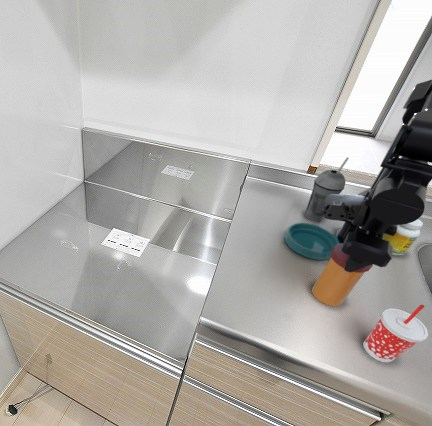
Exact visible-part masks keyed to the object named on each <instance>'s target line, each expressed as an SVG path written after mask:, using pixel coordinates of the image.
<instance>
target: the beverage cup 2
mask: <svg viewBox="0 0 432 426" xmlns="http://www.w3.org/2000/svg"><path fill="white" fill-rule="evenodd" d="M424 308H425V305H424V304H420V305H419V306H418V307H417V308H416V309H415V310H414V311H413V312H412V313H409V312H407V311H404V310H402V309H399V308H386V309H385V310H383V312H382V313H381V315H380V318H379V320H378V322H377V323H376V324H375V326H374V327H373V329H372V330H371V331H370V333H369V334H368V335H367V337H366V338H365V339H364V341H363V343H362V344H363V345H362V346H363V349H364V350H365V353H367V354H368V355H369V356H370V357H371V358H373V359H375V361H379V362H382V363H391V362H393V361H394V360H395V359H397V358H398V357H400V356H401V355H402V354H404V353H405V352H406V351H408V350H409V349H411V348H412V347H414V346H415V345H416V344H419V343H421V342H424V341H426V340H427V338H428V336H429V331H428V329H427V327H426V326H425V325H424V323H423V322H422V321H421V320H420V319H418V318H417V317H416V316H417V315H419V313H420V312H421V311H422V310H423V309H424Z"/></svg>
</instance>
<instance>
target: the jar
mask: <svg viewBox="0 0 432 426" xmlns="http://www.w3.org/2000/svg"><path fill="white" fill-rule="evenodd" d="M364 274H365V272H363V273H358V272H351V273H350V272H347V271H345V270H344V268H342V267H341V266H339V265H338V264H336V263H335V262H334V261H333V259H332V258H331V257H330V259H328V261H327V262H326V264H325V266H324V267H323V269H322V271H321V273H320V274H319V275H318V277H317V279H316V281H315V282H314V283H313V286H312V288H311V293H312V295H313V297H314V299H316V300H317V301H318V302H320V303H322V304H324V305H326V306H330V307H340V306H341V305H342V304H343V303H344V302H345V300H346V299H347V297H348V296H349V295H350V293H351V292H352V290H353V289H354V288H355V286H356V285H357V283H358V282H360V279H361V278H362V277H363V276H364Z"/></svg>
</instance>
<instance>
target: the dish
mask: <svg viewBox="0 0 432 426" xmlns="http://www.w3.org/2000/svg"><path fill="white" fill-rule="evenodd" d="M335 236H336V235H335V234H334V233H332V232H331V231H329V230H328V229H326V228H324V227H322V226H319V225H316V224H312V223H307V222H297V223H293V224H291V225H290V226H288V228H287V231H286V232H285V235H284V241H285V243H286V244H287V246H288V247H289V248H290V249H291V250H292V251H294V252H295V253H297V254H299V255H301V256H302V257H305V258H307V259H312V260H317V261H324V260H329V259H330V257H331V251H332V249H333V248H334V247H335V246H336V245H337V244H340V243H339V241H338V239H337V238H336V237H335Z"/></svg>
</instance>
